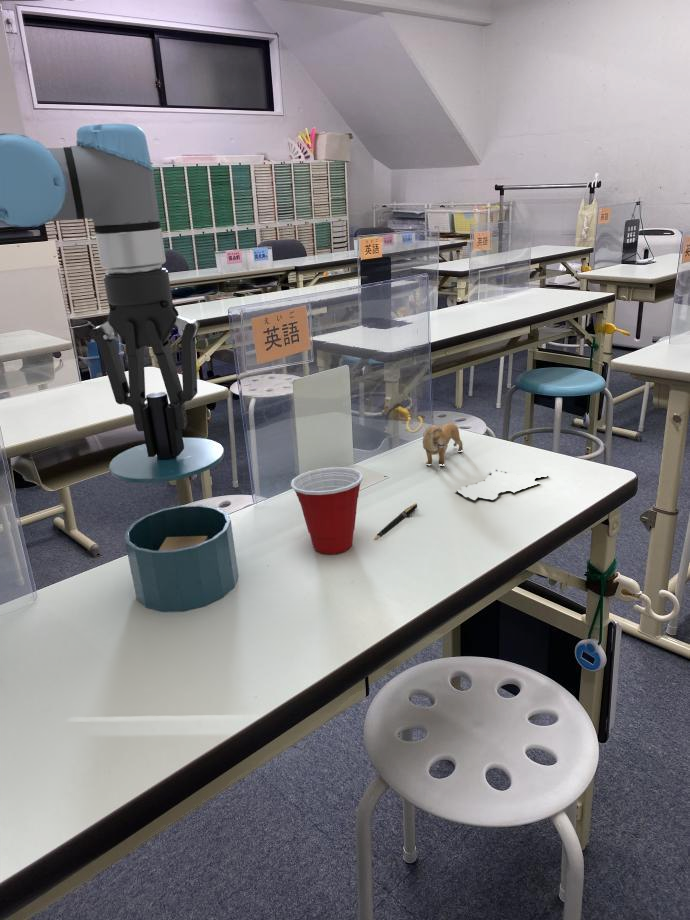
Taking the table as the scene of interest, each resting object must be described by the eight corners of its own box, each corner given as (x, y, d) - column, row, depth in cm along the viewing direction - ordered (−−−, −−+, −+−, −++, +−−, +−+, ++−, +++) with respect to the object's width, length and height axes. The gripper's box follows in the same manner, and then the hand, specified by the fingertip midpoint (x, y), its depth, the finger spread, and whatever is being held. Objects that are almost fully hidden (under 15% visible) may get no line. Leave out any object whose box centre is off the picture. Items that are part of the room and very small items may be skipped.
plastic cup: (341, 525, 112) (336, 457, 108) (381, 549, 104) (377, 477, 100) (284, 546, 107) (276, 475, 103) (321, 573, 98) (314, 498, 94)
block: (160, 595, 95) (153, 557, 93) (173, 573, 100) (166, 536, 98) (203, 594, 94) (197, 556, 92) (213, 572, 100) (207, 535, 98)
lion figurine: (444, 475, 129) (443, 430, 126) (417, 472, 131) (416, 427, 128) (466, 448, 141) (467, 407, 138) (442, 446, 143) (441, 405, 140)
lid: (92, 490, 84) (76, 415, 81) (133, 447, 98) (120, 382, 95) (210, 485, 83) (199, 409, 80) (234, 443, 97) (226, 376, 94)
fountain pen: (376, 545, 105) (376, 536, 105) (370, 543, 106) (369, 534, 106) (420, 508, 116) (420, 500, 116) (414, 507, 117) (414, 499, 116)
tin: (122, 616, 91) (108, 554, 88) (154, 562, 105) (144, 506, 101) (226, 614, 90) (217, 550, 87) (246, 559, 104) (238, 503, 100)
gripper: (207, 261, 84) (230, 440, 93) (84, 269, 86) (118, 445, 94) (191, 268, 77) (218, 460, 86) (57, 276, 79) (97, 465, 87)
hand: (166, 452), depth 90 cm, fingers closed on lid, 3 cm apart
